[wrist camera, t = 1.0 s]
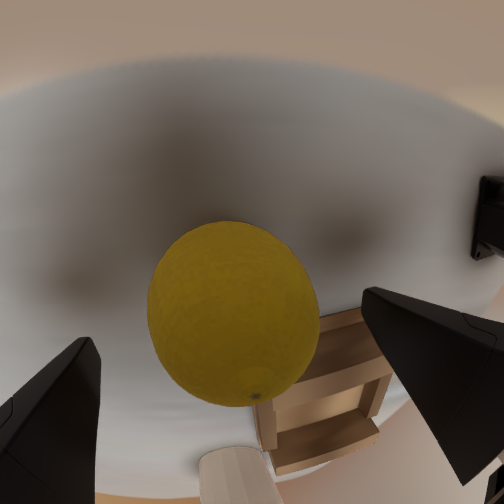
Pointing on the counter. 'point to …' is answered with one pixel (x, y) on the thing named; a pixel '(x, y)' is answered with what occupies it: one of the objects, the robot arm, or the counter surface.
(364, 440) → the cradle
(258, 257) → the lemon
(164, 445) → the counter surface
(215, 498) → the shot glass
